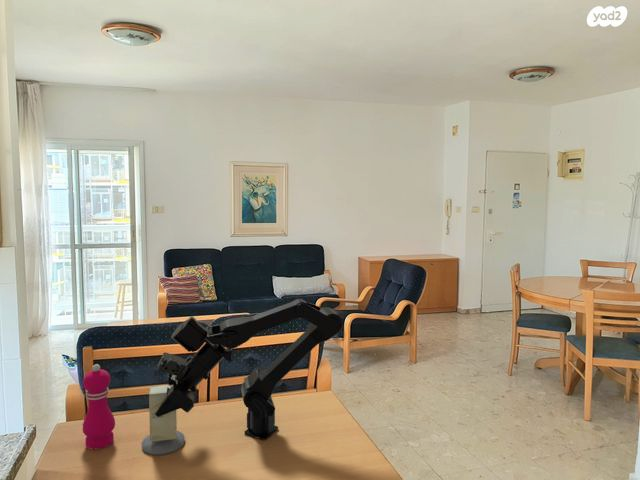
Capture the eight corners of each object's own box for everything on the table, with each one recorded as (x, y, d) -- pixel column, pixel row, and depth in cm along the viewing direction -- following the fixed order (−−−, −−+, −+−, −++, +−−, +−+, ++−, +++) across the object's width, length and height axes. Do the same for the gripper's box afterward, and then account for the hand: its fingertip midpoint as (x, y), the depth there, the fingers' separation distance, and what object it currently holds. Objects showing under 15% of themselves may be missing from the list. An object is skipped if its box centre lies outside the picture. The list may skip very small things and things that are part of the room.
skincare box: (149, 442, 114) (147, 394, 112) (151, 432, 118) (149, 386, 117) (177, 438, 116) (175, 391, 114) (177, 429, 120) (176, 383, 118)
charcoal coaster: (193, 438, 119) (193, 435, 119) (163, 459, 111) (163, 456, 110) (163, 429, 124) (163, 426, 124) (132, 448, 115) (132, 445, 115)
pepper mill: (103, 452, 113) (99, 371, 110) (76, 448, 114) (72, 368, 112) (122, 436, 120) (118, 360, 117) (96, 433, 121) (92, 357, 119)
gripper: (178, 330, 124) (135, 375, 122) (176, 356, 106) (125, 409, 105) (210, 356, 127) (168, 401, 126) (213, 386, 109) (165, 438, 108)
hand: (157, 410), depth 116 cm, fingers closed on skincare box, 4 cm apart
